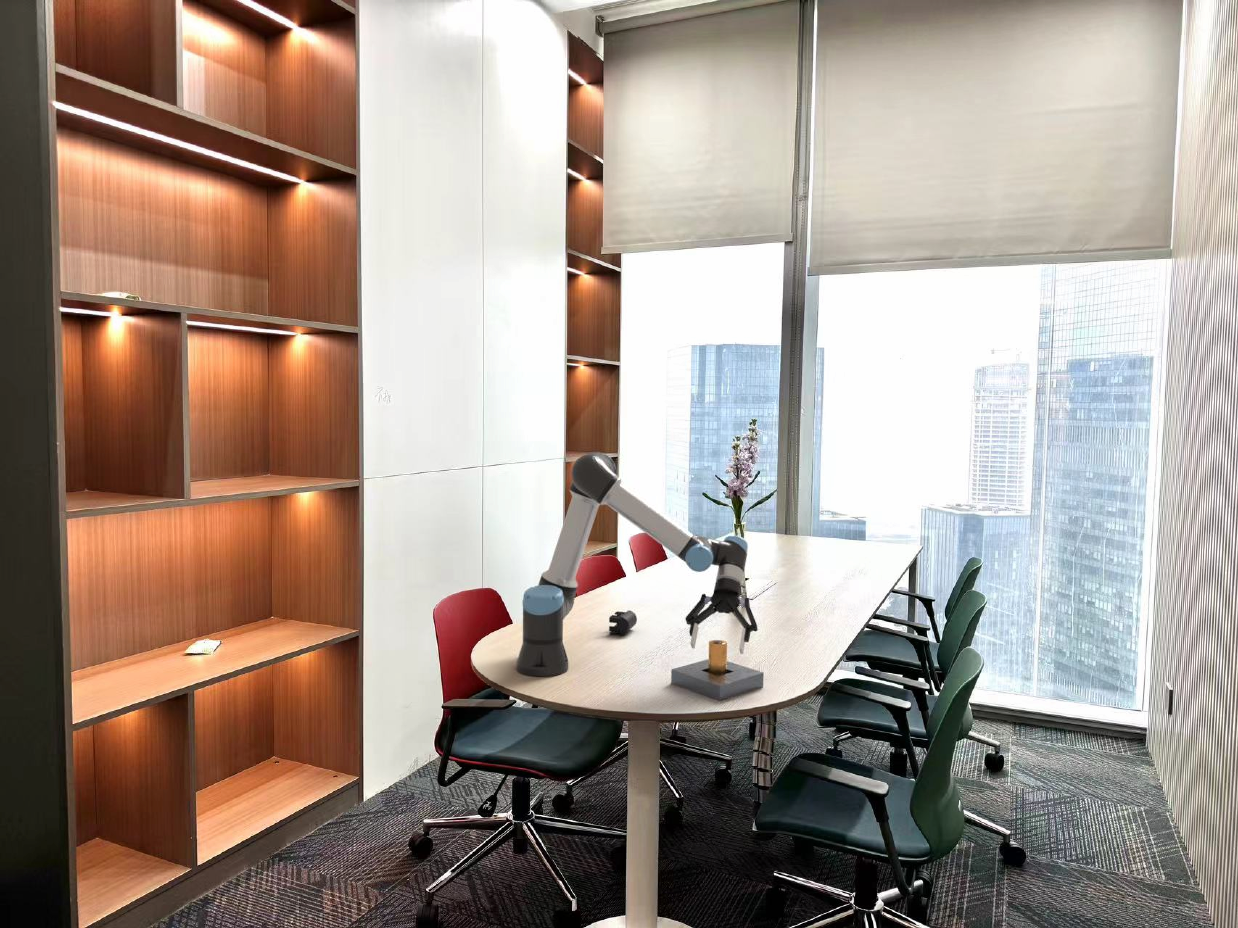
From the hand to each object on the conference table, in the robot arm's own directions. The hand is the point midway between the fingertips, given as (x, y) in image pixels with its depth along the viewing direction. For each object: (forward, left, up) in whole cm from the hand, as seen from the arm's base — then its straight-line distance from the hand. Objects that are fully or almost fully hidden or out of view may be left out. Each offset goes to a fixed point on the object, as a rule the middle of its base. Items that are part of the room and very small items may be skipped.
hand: (716, 648), depth 229 cm
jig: (+2, +1, -11) cm, 11 cm away
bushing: (+2, +1, -11) cm, 11 cm away
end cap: (+18, +58, -11) cm, 62 cm away
